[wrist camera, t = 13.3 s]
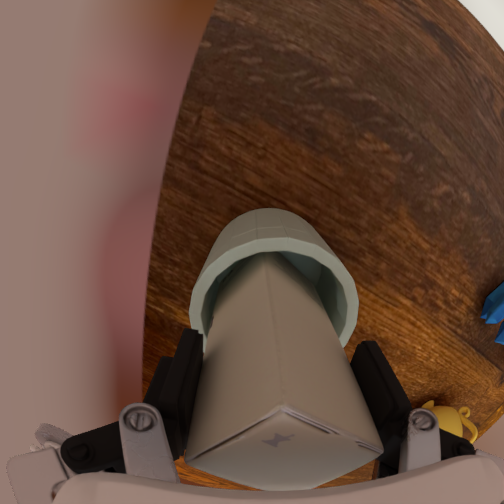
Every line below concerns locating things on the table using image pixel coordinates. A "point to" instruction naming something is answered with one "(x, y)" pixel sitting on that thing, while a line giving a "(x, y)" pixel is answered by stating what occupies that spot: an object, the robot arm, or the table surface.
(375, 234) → the table surface
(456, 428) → the teapot
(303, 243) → the jar
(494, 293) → the crystal
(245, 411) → the box
